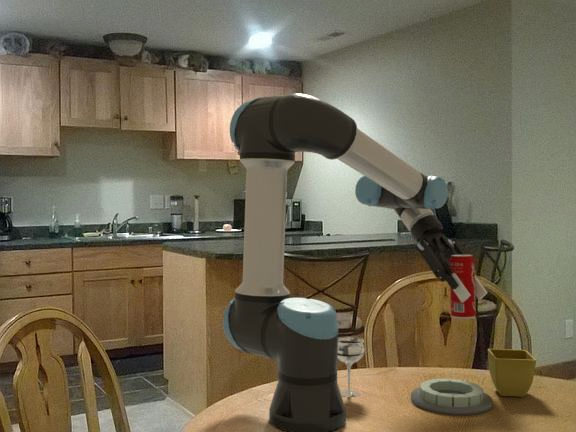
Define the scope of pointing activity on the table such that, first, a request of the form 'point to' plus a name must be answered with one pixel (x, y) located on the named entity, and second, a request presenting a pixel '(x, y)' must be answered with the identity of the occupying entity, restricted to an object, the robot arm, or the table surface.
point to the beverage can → (466, 274)
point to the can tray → (451, 409)
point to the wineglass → (350, 358)
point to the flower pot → (511, 371)
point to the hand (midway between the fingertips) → (474, 297)
